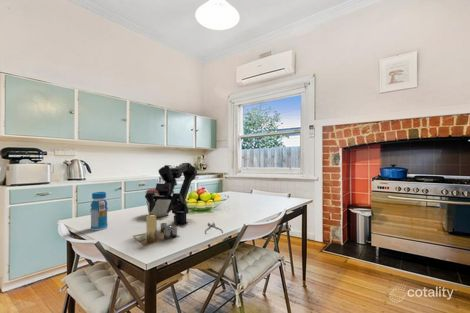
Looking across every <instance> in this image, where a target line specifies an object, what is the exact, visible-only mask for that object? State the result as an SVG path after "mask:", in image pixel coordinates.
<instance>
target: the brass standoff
mask: <svg viewBox="0 0 470 313" xmlns="http://www.w3.org/2000/svg"><path fill="white" fill-rule="evenodd" d="M145 218H146V223H145V224H146V233H147V243H153V244H155V243H154V242H156V241H157V226H158V225H157V224H158V222H157V218H158V217H157V215H156V214H149V213H148V214H146V217H145Z"/></svg>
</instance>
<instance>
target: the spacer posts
mask: <svg viewBox="0 0 470 313" xmlns="http://www.w3.org/2000/svg"><path fill="white" fill-rule="evenodd" d="M167 224H168V223H167V222H161V223H160V230H161V232H164V239H165V240H166V241H169V240H168V239H170V238H174V237H177V235H178V228H177V227H174V226H173V225H171V224H170V225H167ZM174 239H175V238H174ZM170 240H171V239H170Z"/></svg>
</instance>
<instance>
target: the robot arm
mask: <svg viewBox="0 0 470 313" xmlns="http://www.w3.org/2000/svg"><path fill="white" fill-rule="evenodd" d="M158 174H159V176H160V178H161V180H162V181H163V182H164V183H163V182H162V183H161V182H160V183H156V184H155V188H156V189H155V190H157V191H158V194H160V195H155V194H154V193H145V194H144V198H145V200H146V202H147V201H148V202H149V212H150V213H151V212H152V210H153V208H154V206H155V205H156V203H155V202H156V201H157V200H171V202H170V205H169V207H168V210H167V213H168V214H170V213H171V214H173V223H172V224H174V225H176V226H181V225H187V224H188V221H187V214H189V211H190V208H189V206H188V201H187V196H188V193H189V189H190V187H191V184H192V182H193V180H195V179H196V177H197V175H198V170H197V168H196V167H195V166H193V165H192V163H190V162H183V163H181V164H179V165H178V166H176V167H170V166H169V164H165V165H164V166H163V167H160V168H159V169H158ZM182 176H183V177H184V178H183V181H182V184H181V186H180V189H179V192H178V193H177V192H175V191H174V189H175V187H176V186H177V185H178V182H177V180H176V179H180V178H181V177H182Z"/></svg>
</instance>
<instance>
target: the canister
mask: <svg viewBox="0 0 470 313" xmlns="http://www.w3.org/2000/svg"><path fill="white" fill-rule="evenodd" d="M155 189H156V187H155V188H149V189H147V190H145V191H144V193H145V194H146V193H154V194H155V195H160V194H158V191H157V190H155ZM170 202H171V200H157V201H156V202H155V203H156V205H155V206H154V208H153V210H152V212H151V213H150V212H149V202H148V201H147V200H146V206H147V213H148V215H149V214H156V215H157V218H159V217H160V218H162V217H165V216H167V215H169V213H167V210H168V207H169V205H170Z"/></svg>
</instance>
